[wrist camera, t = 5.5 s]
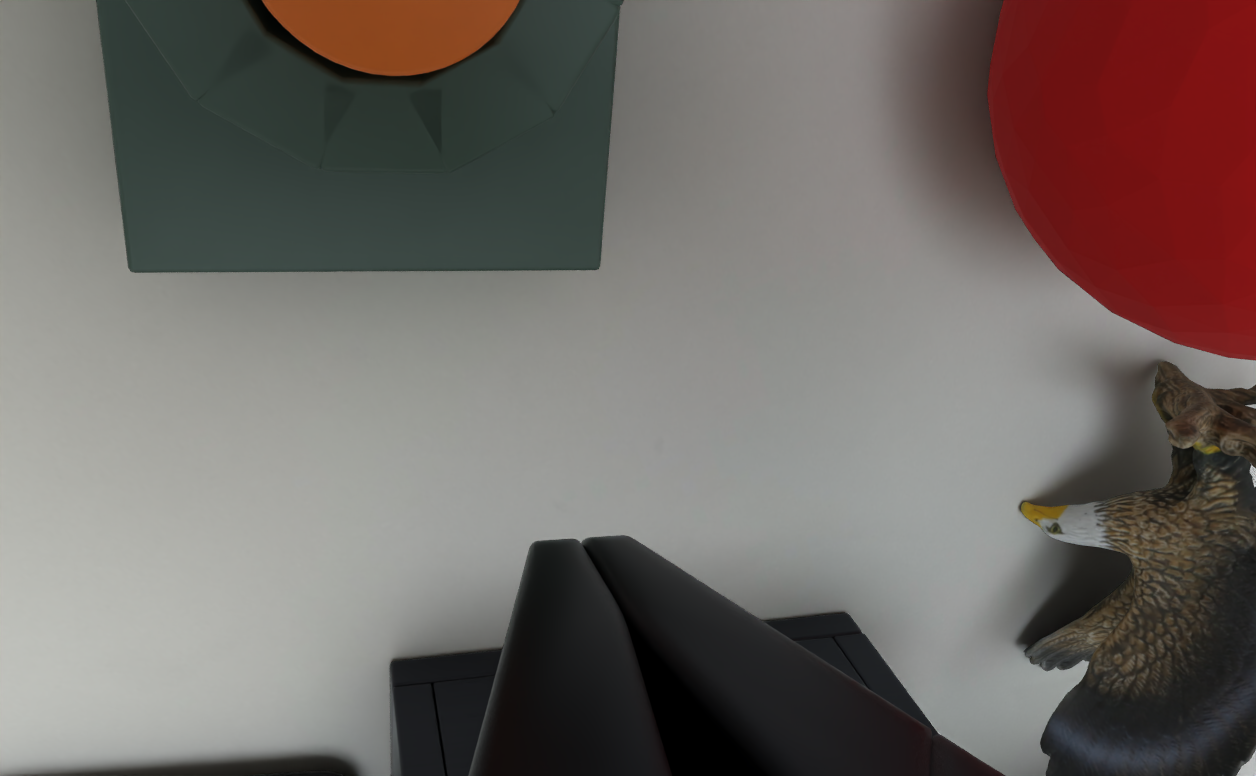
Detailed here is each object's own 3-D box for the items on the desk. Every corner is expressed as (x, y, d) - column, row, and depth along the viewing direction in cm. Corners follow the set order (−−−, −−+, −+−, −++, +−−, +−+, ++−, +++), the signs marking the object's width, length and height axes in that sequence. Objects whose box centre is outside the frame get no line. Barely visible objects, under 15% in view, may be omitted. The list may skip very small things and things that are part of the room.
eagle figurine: (970, 394, 21) (944, 776, 24) (1398, 467, 17) (1312, 931, 19) (1096, 332, 27) (1064, 646, 29) (1444, 373, 22) (1373, 743, 25)
